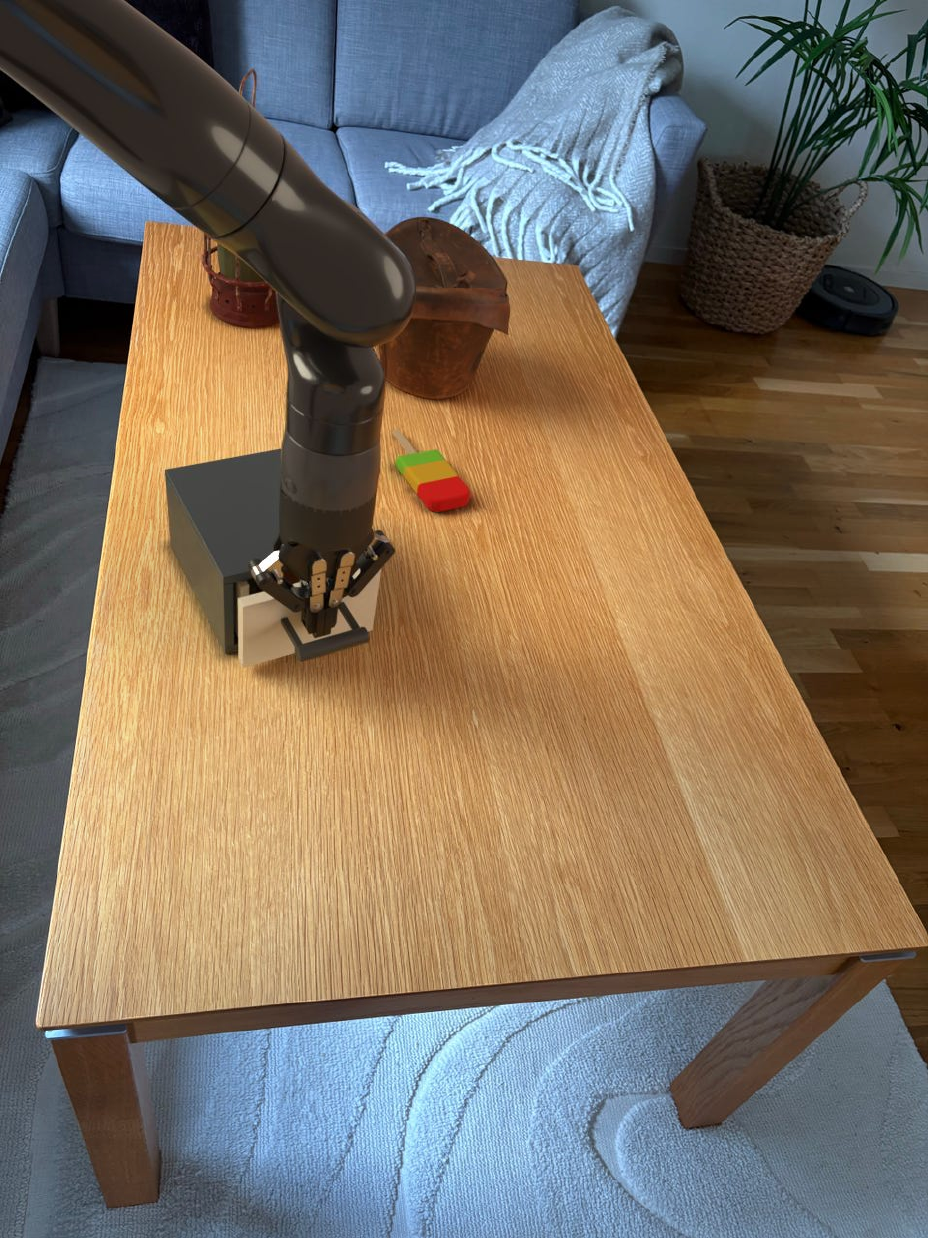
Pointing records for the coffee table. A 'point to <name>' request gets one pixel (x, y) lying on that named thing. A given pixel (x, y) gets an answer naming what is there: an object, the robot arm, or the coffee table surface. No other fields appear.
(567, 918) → the coffee table surface
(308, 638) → the drawer
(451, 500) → the popsicle
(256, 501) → the cabinet
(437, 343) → the case
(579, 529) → the coffee table surface
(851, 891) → the coffee table surface
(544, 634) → the coffee table surface
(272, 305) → the lantern
